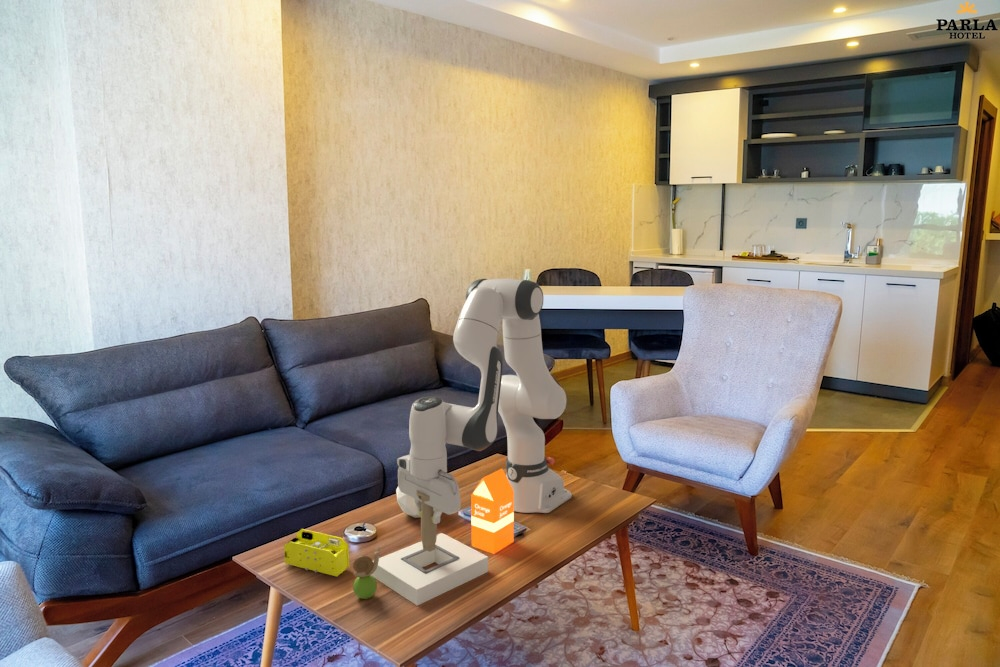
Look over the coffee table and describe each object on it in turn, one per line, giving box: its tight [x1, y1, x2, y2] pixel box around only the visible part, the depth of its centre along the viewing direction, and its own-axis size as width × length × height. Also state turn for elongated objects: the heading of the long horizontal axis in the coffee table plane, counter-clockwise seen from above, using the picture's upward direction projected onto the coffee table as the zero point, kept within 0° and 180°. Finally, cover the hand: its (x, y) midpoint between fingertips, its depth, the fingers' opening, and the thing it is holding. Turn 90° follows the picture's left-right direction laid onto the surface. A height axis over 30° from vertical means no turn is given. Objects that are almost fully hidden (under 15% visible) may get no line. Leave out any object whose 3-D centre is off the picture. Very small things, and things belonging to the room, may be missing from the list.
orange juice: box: [470, 468, 515, 555], centre depth 192 cm, size 8×9×20 cm
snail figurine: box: [352, 546, 381, 600], centre depth 167 cm, size 5×6×12 cm
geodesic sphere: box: [395, 486, 421, 519], centre depth 210 cm, size 14×14×14 cm
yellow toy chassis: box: [283, 528, 350, 577], centre depth 181 cm, size 16×6×8 cm, turn 66°
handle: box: [416, 490, 438, 552], centre depth 176 cm, size 5×6×15 cm
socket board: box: [371, 532, 489, 606], centre depth 178 cm, size 22×18×4 cm
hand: (429, 519), depth 176 cm, fingers closed on handle, 4 cm apart
